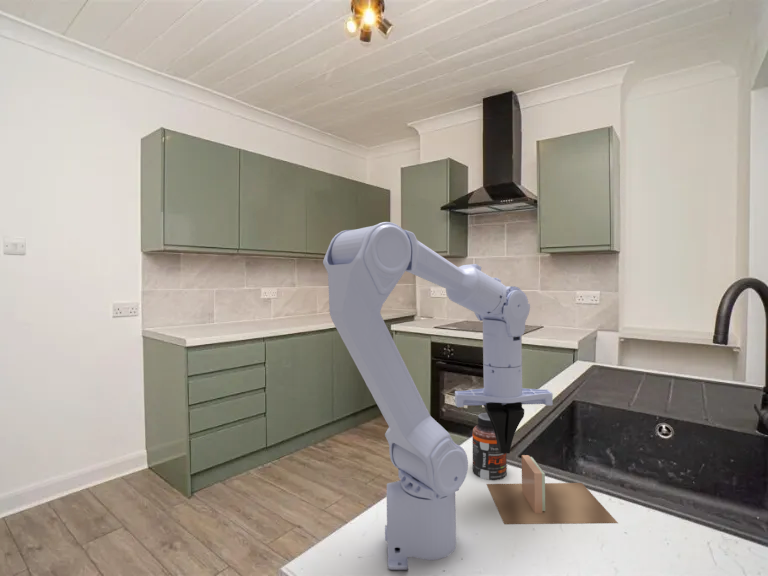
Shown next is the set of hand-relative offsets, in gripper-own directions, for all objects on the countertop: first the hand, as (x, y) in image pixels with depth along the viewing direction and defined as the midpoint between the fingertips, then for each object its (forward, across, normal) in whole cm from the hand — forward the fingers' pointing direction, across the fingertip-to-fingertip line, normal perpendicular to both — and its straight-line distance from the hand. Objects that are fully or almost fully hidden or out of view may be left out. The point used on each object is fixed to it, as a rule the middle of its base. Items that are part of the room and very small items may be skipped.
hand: (503, 450), depth 63 cm
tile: (+8, -4, 0) cm, 9 cm away
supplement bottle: (+10, 0, -10) cm, 14 cm away
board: (+9, -6, 0) cm, 11 cm away
